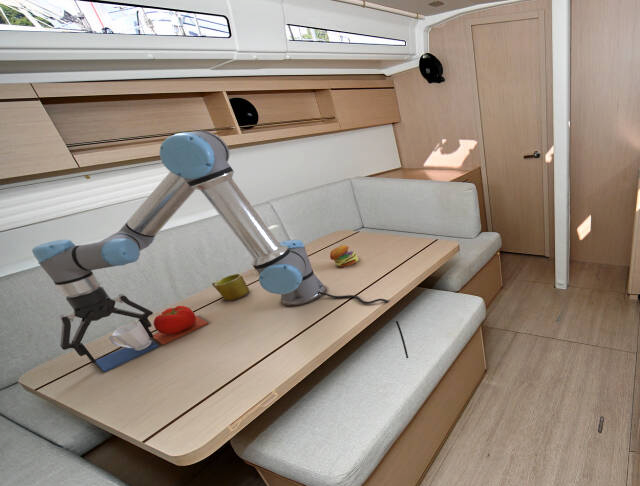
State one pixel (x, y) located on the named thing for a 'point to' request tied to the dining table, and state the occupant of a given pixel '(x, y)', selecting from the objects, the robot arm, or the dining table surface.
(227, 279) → the mug
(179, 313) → the tomato
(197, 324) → the red mat
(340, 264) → the cheeseburger
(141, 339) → the cup
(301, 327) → the dining table surface
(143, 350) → the blue mat
